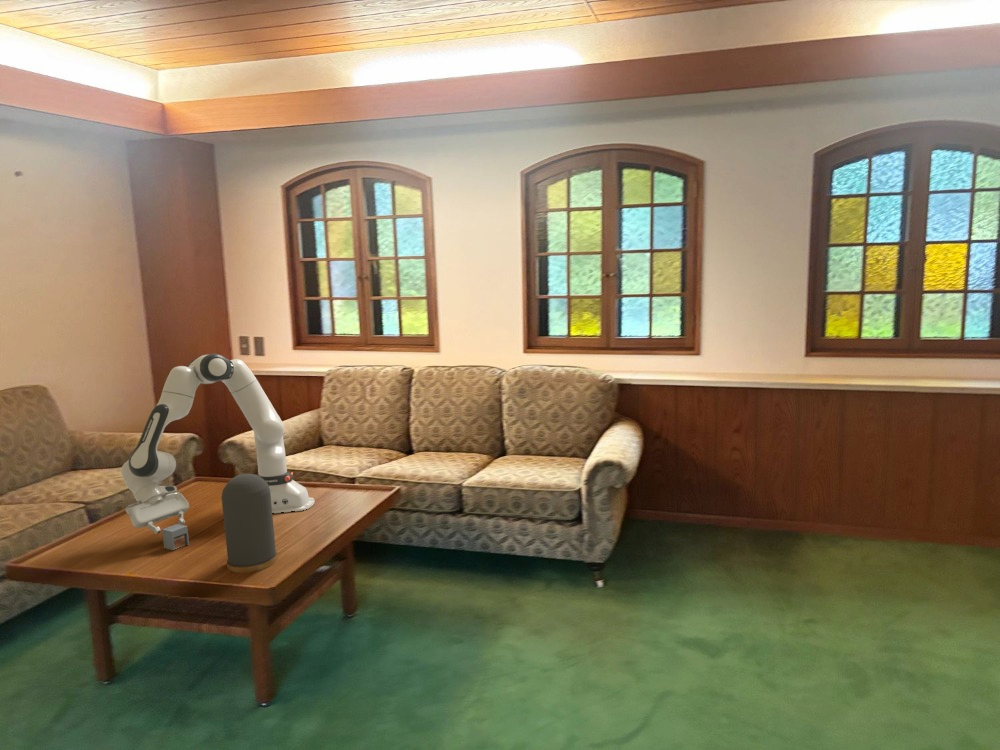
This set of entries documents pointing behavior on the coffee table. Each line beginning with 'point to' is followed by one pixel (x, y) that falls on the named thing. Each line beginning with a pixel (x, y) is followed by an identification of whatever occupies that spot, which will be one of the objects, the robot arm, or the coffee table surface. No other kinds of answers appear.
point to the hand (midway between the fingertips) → (170, 528)
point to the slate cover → (174, 535)
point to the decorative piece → (248, 524)
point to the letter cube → (179, 541)
